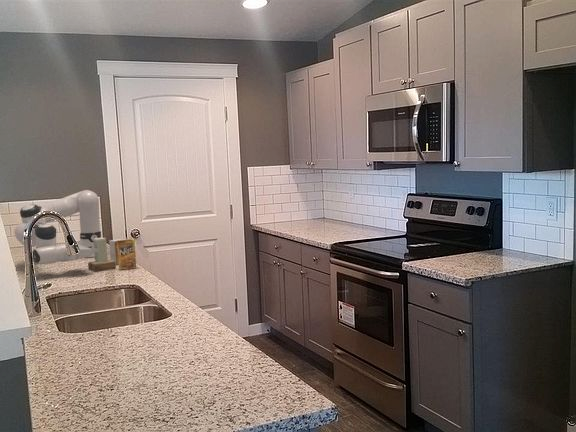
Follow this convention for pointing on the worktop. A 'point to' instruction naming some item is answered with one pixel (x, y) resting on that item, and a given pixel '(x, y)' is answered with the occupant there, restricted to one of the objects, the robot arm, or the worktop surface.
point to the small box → (114, 250)
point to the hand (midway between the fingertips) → (95, 248)
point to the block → (100, 250)
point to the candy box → (126, 254)
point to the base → (101, 265)
